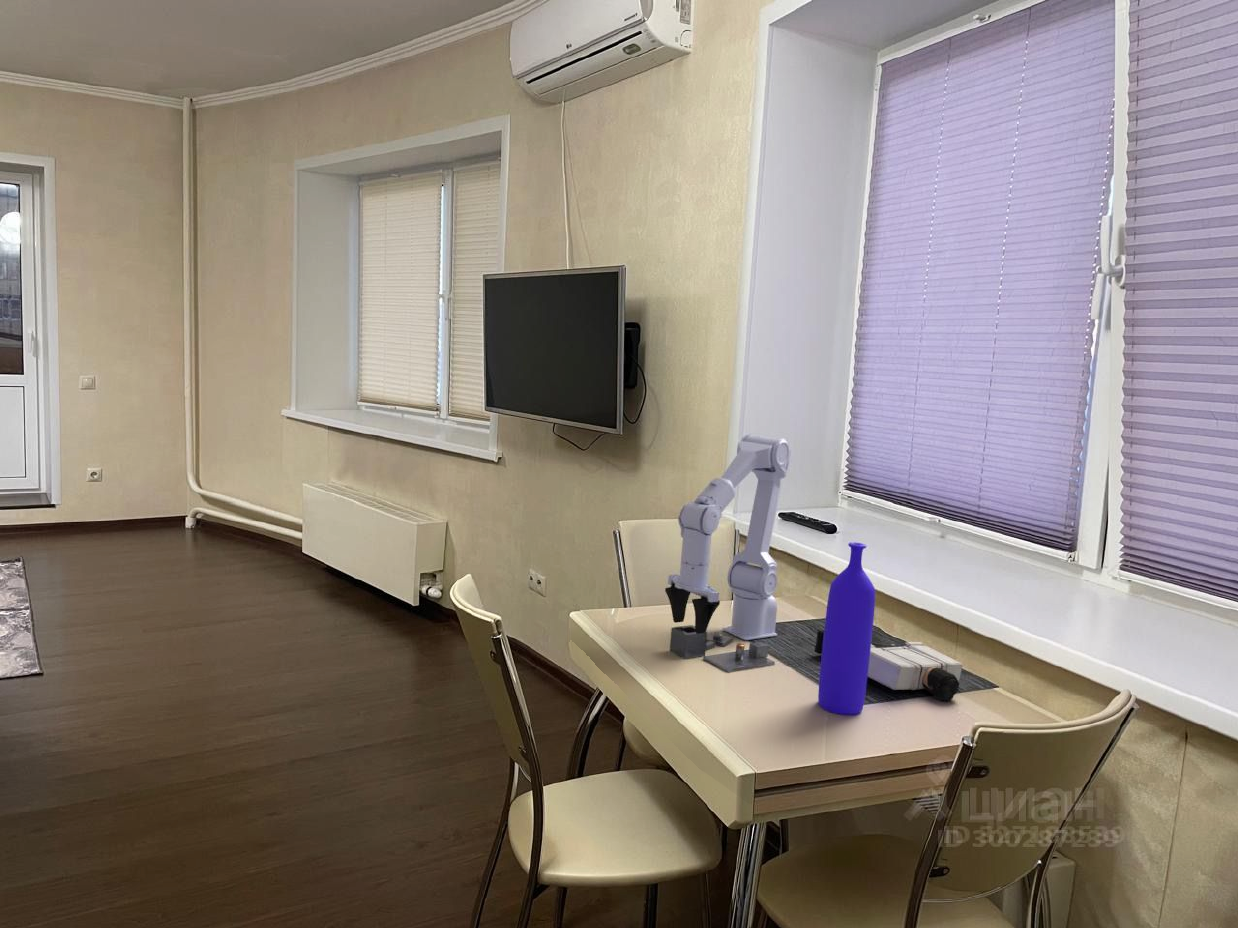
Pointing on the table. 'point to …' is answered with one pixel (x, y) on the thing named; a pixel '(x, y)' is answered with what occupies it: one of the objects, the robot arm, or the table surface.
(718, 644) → the gray t-shaped latch
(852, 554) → the bottle
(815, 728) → the table surface
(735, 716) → the table surface
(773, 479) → the robot arm
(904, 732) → the table surface
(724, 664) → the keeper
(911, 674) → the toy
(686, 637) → the gray hollow cube
